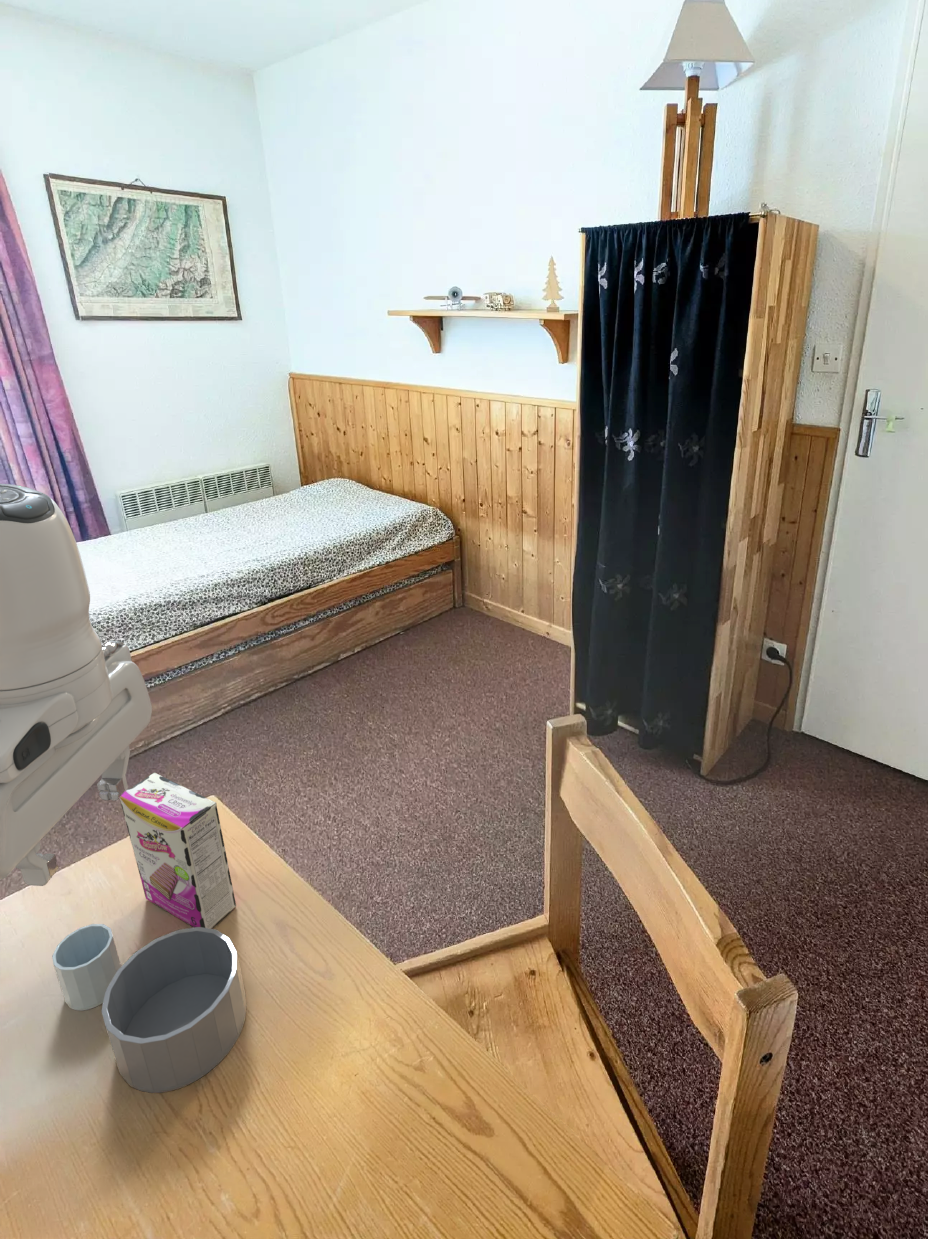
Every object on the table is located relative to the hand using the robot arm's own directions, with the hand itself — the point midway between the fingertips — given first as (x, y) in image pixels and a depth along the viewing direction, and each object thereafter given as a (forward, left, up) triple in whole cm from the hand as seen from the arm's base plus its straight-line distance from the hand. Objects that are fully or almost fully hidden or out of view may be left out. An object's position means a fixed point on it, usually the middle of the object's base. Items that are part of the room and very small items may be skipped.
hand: (81, 833), depth 57 cm
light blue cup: (-11, 0, -28) cm, 30 cm away
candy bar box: (-14, +12, -28) cm, 33 cm away
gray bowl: (+1, +4, -28) cm, 28 cm away
